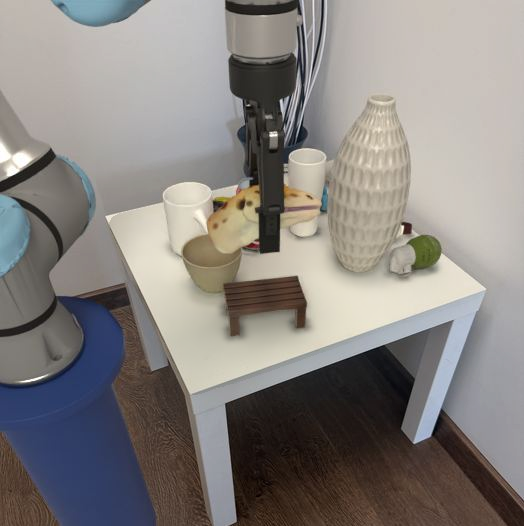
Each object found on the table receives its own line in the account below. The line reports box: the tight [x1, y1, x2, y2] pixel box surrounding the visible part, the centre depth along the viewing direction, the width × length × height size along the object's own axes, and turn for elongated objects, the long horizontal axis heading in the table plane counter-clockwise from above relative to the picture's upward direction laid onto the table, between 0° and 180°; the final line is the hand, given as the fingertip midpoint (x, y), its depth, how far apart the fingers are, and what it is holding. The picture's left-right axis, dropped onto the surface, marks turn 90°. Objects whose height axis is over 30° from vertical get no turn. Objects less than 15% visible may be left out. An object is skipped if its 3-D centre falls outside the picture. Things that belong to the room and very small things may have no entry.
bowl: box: [180, 233, 243, 294], centre depth 86 cm, size 10×10×7 cm
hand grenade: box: [389, 234, 442, 278], centre depth 90 cm, size 6×6×10 cm
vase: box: [326, 93, 412, 273], centre depth 82 cm, size 13×13×28 cm
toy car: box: [212, 196, 231, 213], centre depth 104 cm, size 5×10×3 cm, turn 156°
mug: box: [162, 181, 214, 257], centre depth 92 cm, size 9×12×11 cm
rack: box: [223, 275, 308, 337], centre depth 81 cm, size 12×7×5 cm, turn 99°
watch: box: [395, 221, 413, 239], centre depth 98 cm, size 8×5×4 cm
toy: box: [206, 183, 322, 254], centre depth 69 cm, size 6×15×10 cm
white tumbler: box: [287, 147, 327, 238], centre depth 95 cm, size 7×7×15 cm
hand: (264, 235), depth 72 cm, fingers closed on toy, 7 cm apart
